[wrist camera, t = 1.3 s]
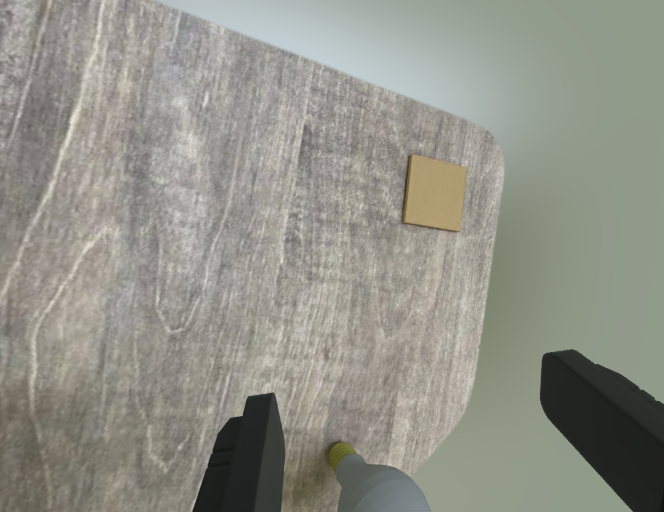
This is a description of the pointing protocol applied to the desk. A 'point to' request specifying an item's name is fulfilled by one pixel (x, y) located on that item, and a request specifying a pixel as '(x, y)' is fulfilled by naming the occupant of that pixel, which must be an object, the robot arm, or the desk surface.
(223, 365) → the desk surface
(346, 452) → the light bulb
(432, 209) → the mat
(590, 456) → the robot arm
